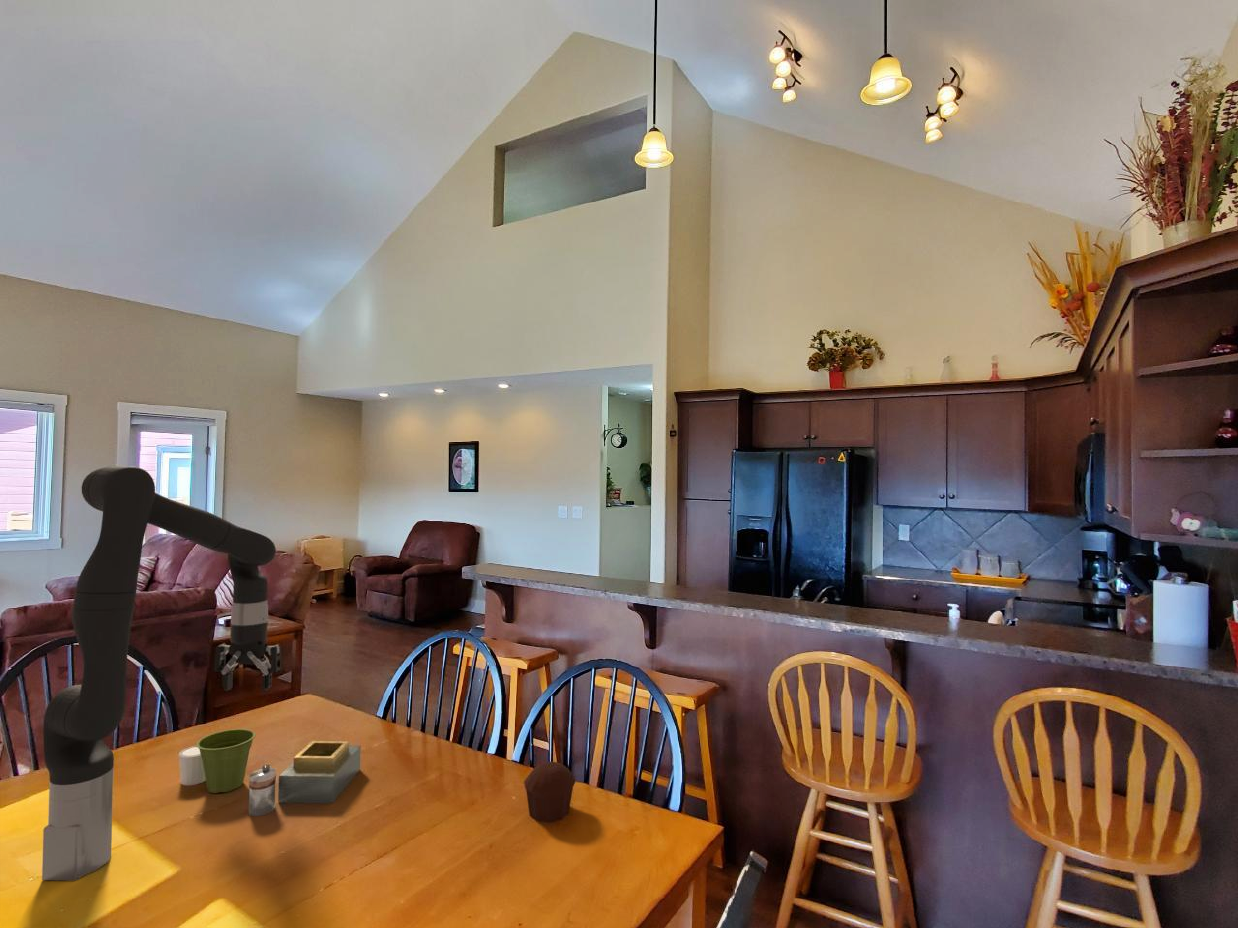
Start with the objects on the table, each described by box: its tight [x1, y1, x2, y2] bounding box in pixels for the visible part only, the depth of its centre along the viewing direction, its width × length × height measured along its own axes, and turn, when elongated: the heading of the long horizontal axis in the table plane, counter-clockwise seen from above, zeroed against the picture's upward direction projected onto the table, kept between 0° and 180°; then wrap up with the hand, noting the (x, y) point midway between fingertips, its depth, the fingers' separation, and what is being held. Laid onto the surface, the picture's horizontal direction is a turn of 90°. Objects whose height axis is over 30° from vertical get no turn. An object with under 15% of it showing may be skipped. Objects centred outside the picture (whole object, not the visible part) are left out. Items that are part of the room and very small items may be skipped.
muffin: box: [523, 761, 576, 823], centre depth 141 cm, size 12×11×10 cm
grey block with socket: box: [277, 740, 362, 804], centre depth 151 cm, size 16×12×8 cm
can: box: [248, 764, 277, 817], centre depth 139 cm, size 5×5×9 cm
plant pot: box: [195, 728, 256, 794], centre depth 149 cm, size 12×12×11 cm
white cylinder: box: [178, 745, 206, 786], centre depth 152 cm, size 7×7×7 cm
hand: (247, 689), depth 148 cm, fingers open, 8 cm apart
